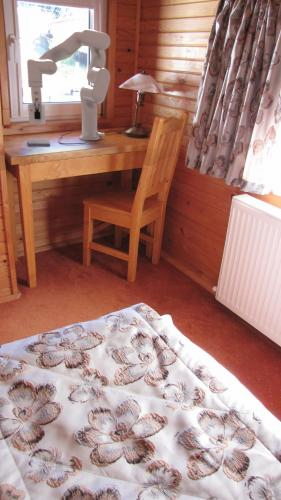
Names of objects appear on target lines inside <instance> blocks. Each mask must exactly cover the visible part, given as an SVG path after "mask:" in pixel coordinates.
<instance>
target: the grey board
mask: <svg viewBox="0 0 281 500" xmlns="http://www.w3.org/2000/svg"><path fill="white" fill-rule="evenodd" d="M27 143H28V145H27V146H28V147H51V141H50V139H49V138H48V139H47V138H28V139H27Z"/></svg>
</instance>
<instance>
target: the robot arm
mask: <svg viewBox="0 0 281 500" xmlns="http://www.w3.org/2000/svg"><path fill="white" fill-rule="evenodd" d="M110 45H111V38H110V36H109V34H108V33H106V32H101V31H99V30H98V31H97V30H94V29H90V28H89V29H88V28H76V29H74V30H73V31H72V32H71V33H70V34H68V35H67V36H66V37H65V38H64V39H63V40H62V41H61V42H60V43H58V44H56V45H55V46H54V47H52V48H50V49H49V50H47V51H46V52H44V53H43V54H42V55H41V56H40V57H39V58H38V59H33V58H32V59H31V58H30V59H28V60H27V61H26V64H27V67H26V69H27V83H28V84H27V85H28V87H29V88H30V92H31V93H30V95H31V102H32V103H31V104H33V106H34V109H35V112H34V117H35V119H40V108H39V107H40V106H41V107H42V104H43V101H42V88H43V75H49V76H52V75H54V74H56V72H57V71H58V65H57V63H58V62H60V61H64V60H67V59H69V58H71V57H72V56H73V55H74V54H75V53H76V52H77V51H78V50H79V49H81V48H82V47H89V50H90V53H91V59H90V63H89V67H88V70H87V74H86V79H87V81H88V82H89V83H91V84H86V85H83V86H82V87H81V88H80V91H79V96H80V105H81V135H79V139H80V140H84V141H97V140H100V136H101V137H105V132H99V131H98V106H97V105H98V104H102V103H103V102H104V101H105V98H106V96H107V92H108V89H109V86H110V81H111V73H110V71H109V70H108V69H107V68H106V67H105V66H106V61H107V59H106V58H107V57H106V52H105V50H107V49H108V48H109V47H110ZM92 84H93V85H92ZM35 105H36V106H35ZM38 105H40V106H38Z"/></svg>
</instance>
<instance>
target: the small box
mask: <svg viewBox="0 0 281 500" xmlns="http://www.w3.org/2000/svg"><path fill="white" fill-rule="evenodd" d="M35 106H36V105H35ZM38 106H40V105H38ZM39 108H40V119H35V117H34V112H35V109H34V106H33V103H28V105H27V109H28V122H29V124H30V125H41V126H44V125H46V124H47V123H46V120H47V119H46V106H45V104H44V103H42V107H41V106H40V107H39Z"/></svg>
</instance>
